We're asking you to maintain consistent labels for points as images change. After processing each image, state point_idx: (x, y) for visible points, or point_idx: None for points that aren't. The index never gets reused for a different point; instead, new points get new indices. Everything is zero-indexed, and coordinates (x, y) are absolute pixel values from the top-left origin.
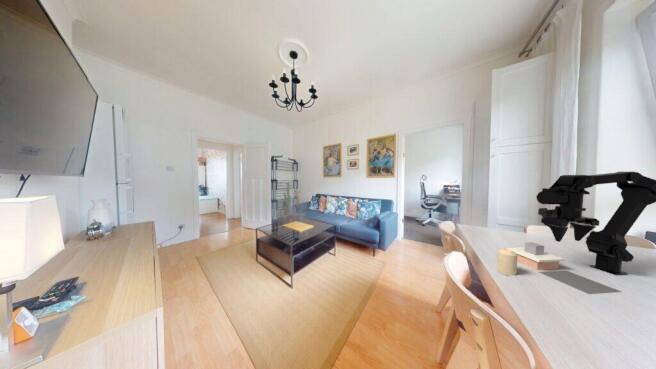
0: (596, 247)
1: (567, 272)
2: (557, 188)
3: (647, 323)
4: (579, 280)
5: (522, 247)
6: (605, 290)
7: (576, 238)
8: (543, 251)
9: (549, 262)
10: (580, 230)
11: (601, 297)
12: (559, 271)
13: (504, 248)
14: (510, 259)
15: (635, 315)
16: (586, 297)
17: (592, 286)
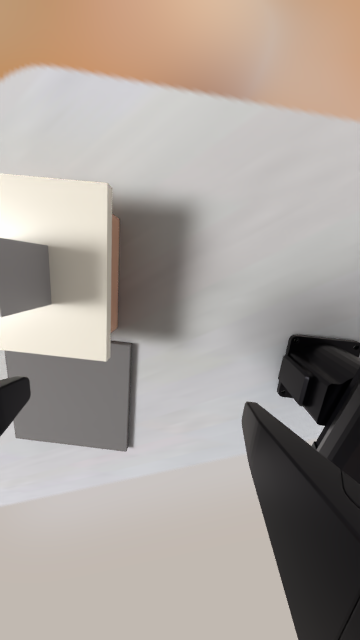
0: (338, 429)
1: (112, 355)
2: None
3: (21, 499)
4: (82, 395)
5: (42, 183)
6: (86, 439)
7: (251, 424)
8: (33, 307)
9: None
10: (318, 600)
11: (45, 443)
12: None
13: None
14: None
15: (32, 486)
16: (5, 435)
17: (76, 422)
